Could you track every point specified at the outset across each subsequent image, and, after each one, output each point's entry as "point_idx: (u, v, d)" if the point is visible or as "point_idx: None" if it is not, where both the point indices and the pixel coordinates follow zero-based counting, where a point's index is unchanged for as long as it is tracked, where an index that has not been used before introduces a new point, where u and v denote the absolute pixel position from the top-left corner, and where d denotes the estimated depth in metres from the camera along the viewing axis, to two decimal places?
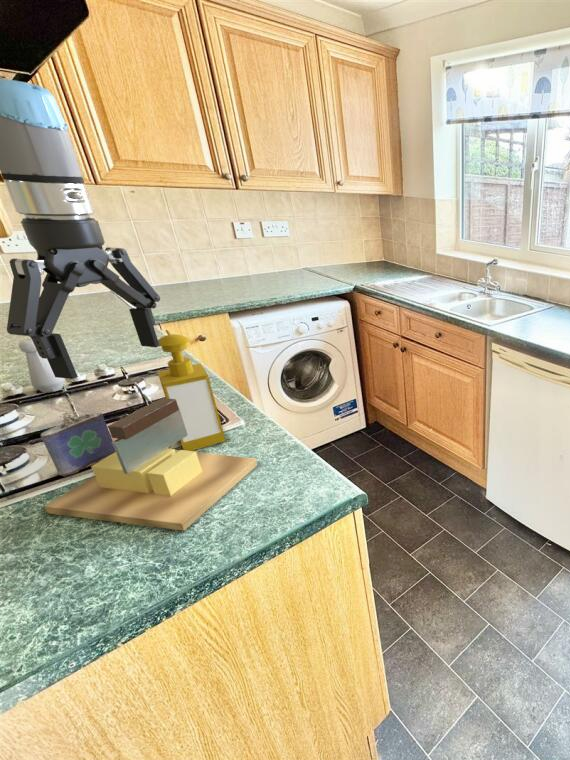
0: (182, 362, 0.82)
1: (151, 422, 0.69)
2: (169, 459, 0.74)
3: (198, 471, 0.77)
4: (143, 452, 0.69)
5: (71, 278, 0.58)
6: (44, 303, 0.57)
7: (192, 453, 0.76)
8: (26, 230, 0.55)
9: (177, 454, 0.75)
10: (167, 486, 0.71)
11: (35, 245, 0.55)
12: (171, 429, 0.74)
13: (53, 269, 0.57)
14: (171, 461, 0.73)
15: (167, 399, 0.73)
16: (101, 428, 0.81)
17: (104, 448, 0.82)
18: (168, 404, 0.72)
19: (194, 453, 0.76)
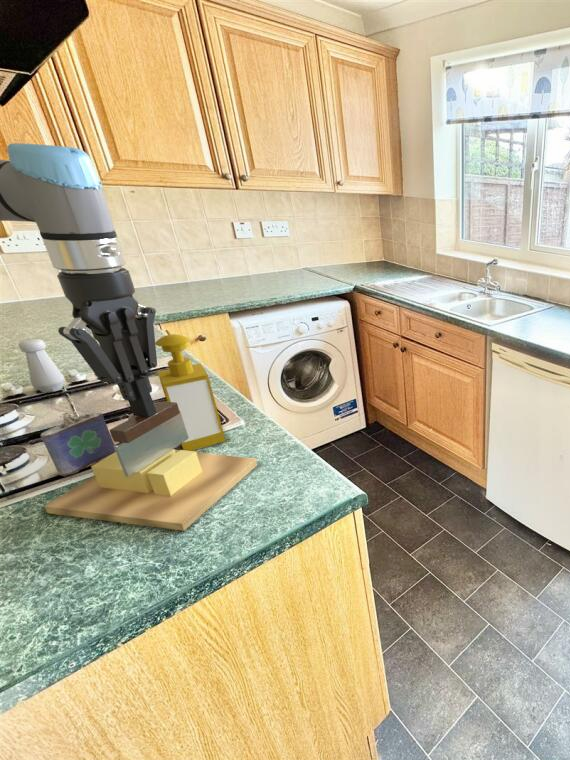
0: (182, 362, 0.82)
1: (152, 426, 0.70)
2: (169, 459, 0.74)
3: (198, 471, 0.77)
4: (144, 455, 0.70)
5: (114, 329, 0.61)
6: (110, 356, 0.63)
7: (192, 453, 0.76)
8: (62, 284, 0.57)
9: (177, 454, 0.75)
10: (167, 486, 0.71)
11: (71, 298, 0.58)
12: (172, 432, 0.75)
13: (88, 320, 0.59)
14: (171, 461, 0.73)
15: (168, 402, 0.74)
16: (101, 428, 0.81)
17: (104, 448, 0.82)
18: (169, 408, 0.72)
19: (194, 453, 0.76)
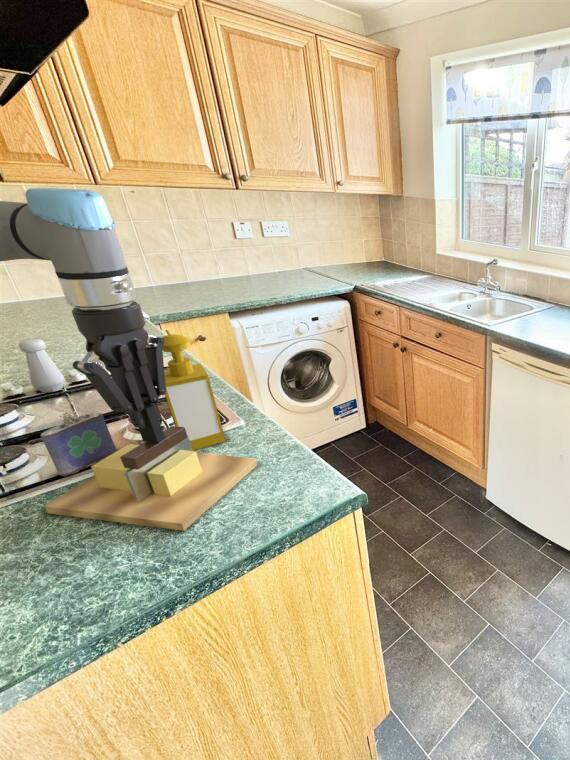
0: (182, 362, 0.82)
1: (161, 451, 0.72)
2: (169, 459, 0.74)
3: (198, 471, 0.77)
4: None
5: (125, 361, 0.64)
6: (121, 386, 0.65)
7: (192, 453, 0.76)
8: (77, 320, 0.59)
9: (177, 454, 0.75)
10: (167, 486, 0.71)
11: (84, 333, 0.60)
12: None
13: (100, 354, 0.61)
14: (171, 461, 0.73)
15: (176, 427, 0.76)
16: (101, 428, 0.81)
17: (104, 448, 0.82)
18: (177, 433, 0.75)
19: (194, 453, 0.76)
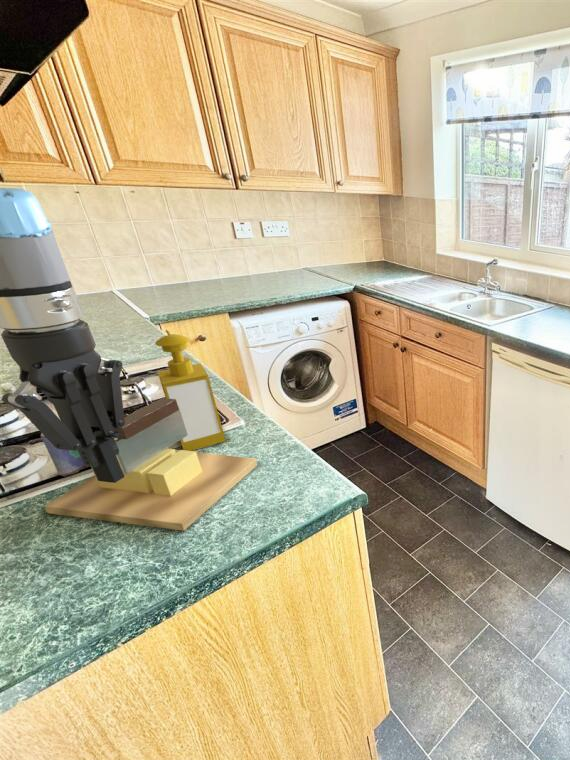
0: (182, 362, 0.82)
1: (151, 422, 0.69)
2: (169, 459, 0.74)
3: (198, 471, 0.77)
4: (143, 452, 0.69)
5: (70, 391, 0.54)
6: (67, 420, 0.55)
7: (192, 453, 0.76)
8: (7, 345, 0.49)
9: (177, 454, 0.75)
10: (167, 486, 0.71)
11: (17, 360, 0.50)
12: (171, 429, 0.74)
13: (38, 384, 0.51)
14: (171, 461, 0.73)
15: (167, 399, 0.73)
16: None
17: None
18: (168, 404, 0.72)
19: (194, 453, 0.76)
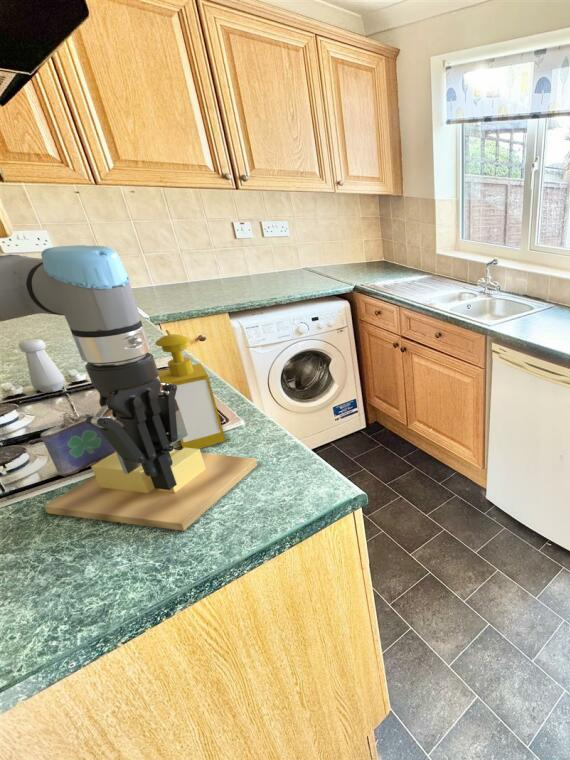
0: (182, 362, 0.82)
1: None
2: (173, 456, 0.74)
3: (202, 468, 0.78)
4: None
5: (138, 413, 0.63)
6: (134, 437, 0.65)
7: (196, 450, 0.76)
8: (90, 375, 0.59)
9: (181, 451, 0.76)
10: None
11: (98, 388, 0.59)
12: None
13: (114, 408, 0.60)
14: (175, 458, 0.74)
15: None
16: None
17: (104, 448, 0.82)
18: None
19: (198, 450, 0.77)
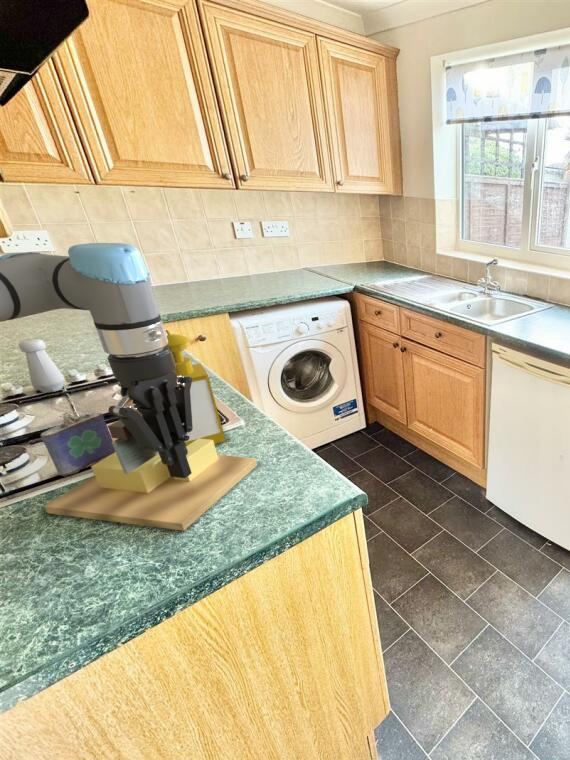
0: (182, 362, 0.82)
1: None
2: (188, 446, 0.77)
3: (215, 458, 0.81)
4: (143, 452, 0.69)
5: (157, 403, 0.66)
6: (152, 426, 0.68)
7: (209, 441, 0.79)
8: (112, 367, 0.62)
9: (195, 442, 0.79)
10: None
11: (120, 379, 0.62)
12: None
13: (134, 398, 0.63)
14: (190, 448, 0.77)
15: None
16: (101, 428, 0.81)
17: (104, 448, 0.82)
18: None
19: (211, 441, 0.79)
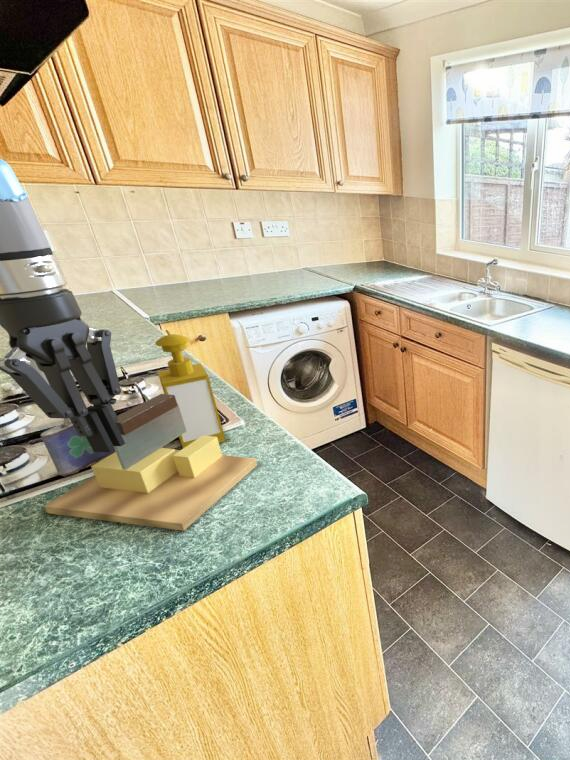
0: (182, 362, 0.82)
1: (149, 418, 0.69)
2: (192, 443, 0.78)
3: (219, 455, 0.82)
4: (141, 448, 0.69)
5: (59, 358, 0.55)
6: (58, 388, 0.57)
7: (213, 438, 0.80)
8: None
9: (199, 439, 0.80)
10: (191, 468, 0.75)
11: (5, 326, 0.51)
12: (170, 425, 0.74)
13: (27, 350, 0.52)
14: (194, 445, 0.78)
15: (165, 395, 0.73)
16: None
17: None
18: (166, 400, 0.72)
19: (215, 438, 0.80)
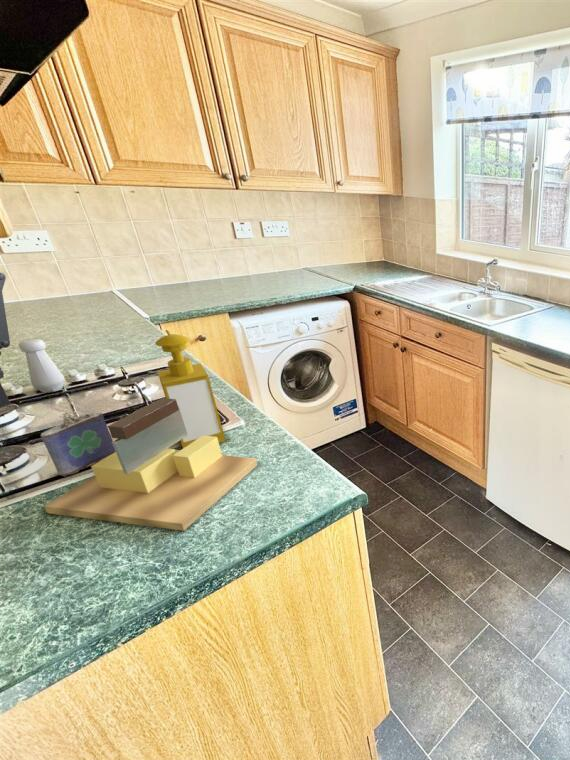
0: (182, 362, 0.82)
1: (151, 422, 0.69)
2: (192, 443, 0.78)
3: (219, 455, 0.82)
4: (143, 452, 0.69)
5: None
6: None
7: (213, 438, 0.80)
8: None
9: (199, 439, 0.80)
10: (191, 468, 0.75)
11: None
12: (171, 429, 0.74)
13: None
14: (194, 445, 0.78)
15: (167, 399, 0.73)
16: (101, 428, 0.81)
17: (104, 448, 0.82)
18: (168, 404, 0.72)
19: (215, 438, 0.80)
